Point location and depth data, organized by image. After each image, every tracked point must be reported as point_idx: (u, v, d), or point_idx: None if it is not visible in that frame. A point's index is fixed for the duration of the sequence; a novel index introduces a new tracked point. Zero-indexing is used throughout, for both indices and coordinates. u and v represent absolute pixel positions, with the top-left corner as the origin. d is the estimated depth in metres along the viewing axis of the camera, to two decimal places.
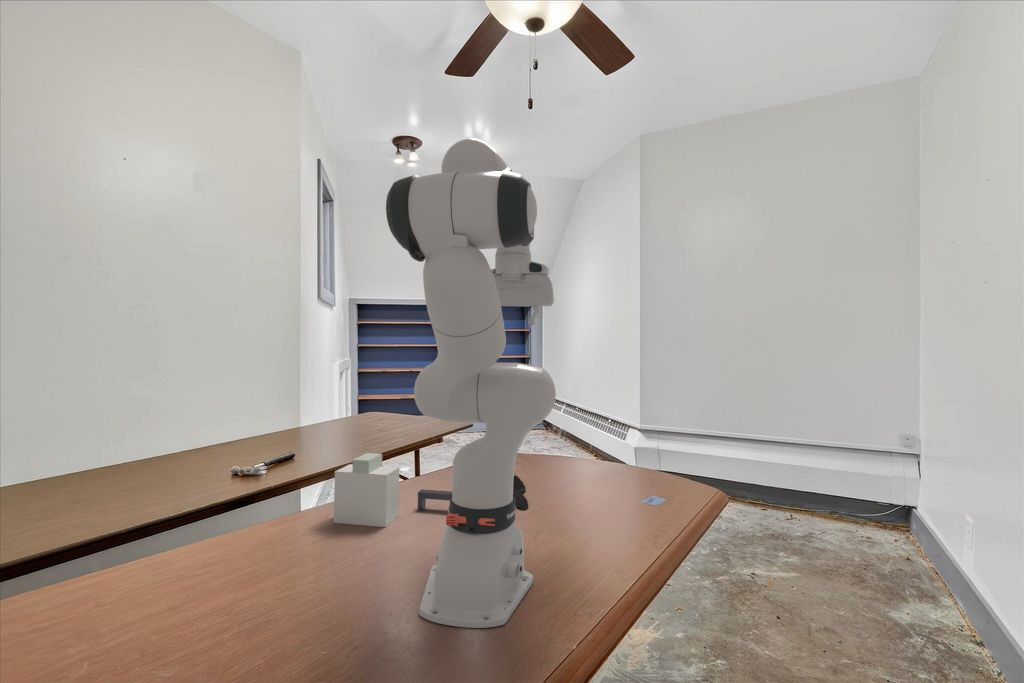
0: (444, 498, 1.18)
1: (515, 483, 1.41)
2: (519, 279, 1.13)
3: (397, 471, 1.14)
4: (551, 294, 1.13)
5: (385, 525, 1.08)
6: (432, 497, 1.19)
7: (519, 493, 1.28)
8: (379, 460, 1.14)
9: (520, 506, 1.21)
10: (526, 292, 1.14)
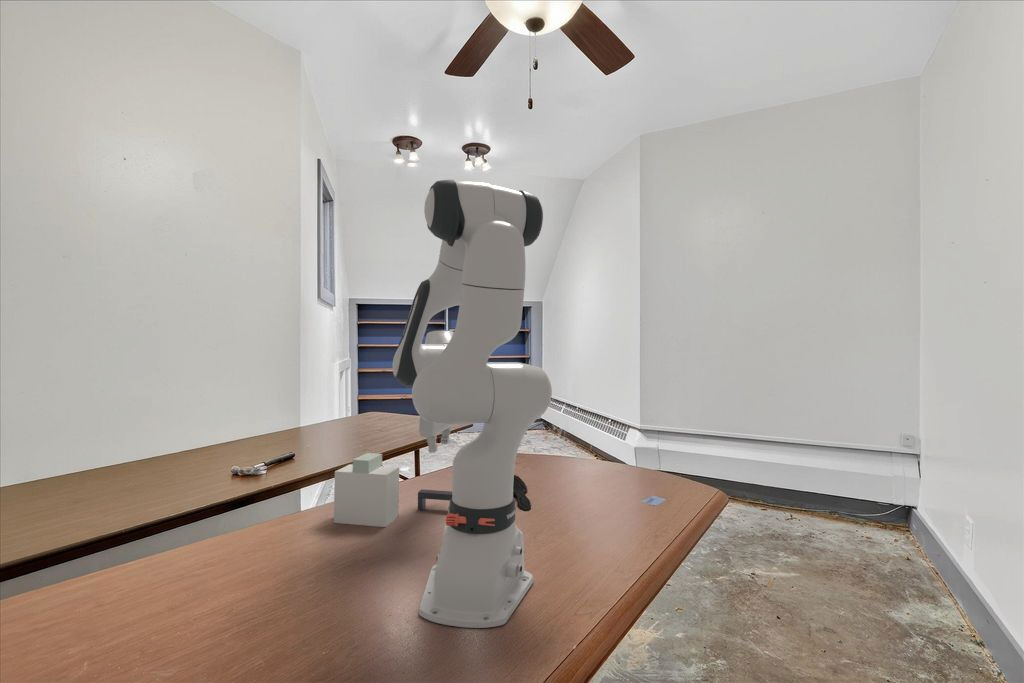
0: (444, 498, 1.18)
1: (516, 483, 1.40)
2: None
3: (397, 471, 1.14)
4: None
5: (385, 525, 1.08)
6: (432, 497, 1.19)
7: (521, 493, 1.28)
8: (379, 460, 1.14)
9: (523, 507, 1.21)
10: None
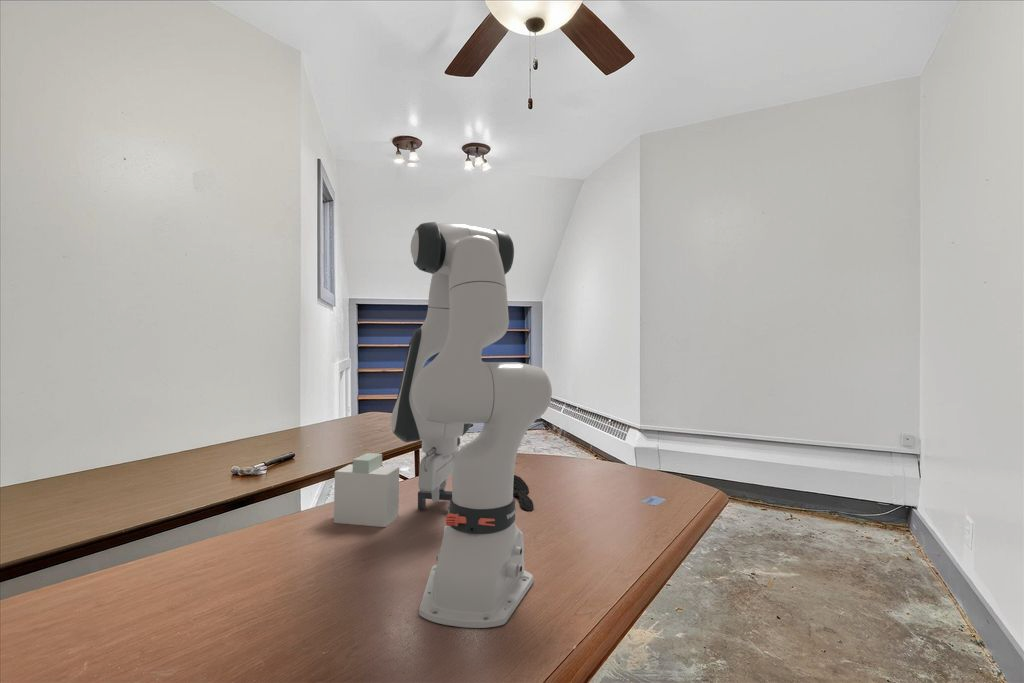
0: (444, 498, 1.18)
1: (518, 484, 1.40)
2: None
3: (397, 471, 1.14)
4: None
5: (385, 525, 1.08)
6: None
7: (523, 494, 1.27)
8: (379, 460, 1.14)
9: (525, 507, 1.21)
10: (450, 465, 1.23)
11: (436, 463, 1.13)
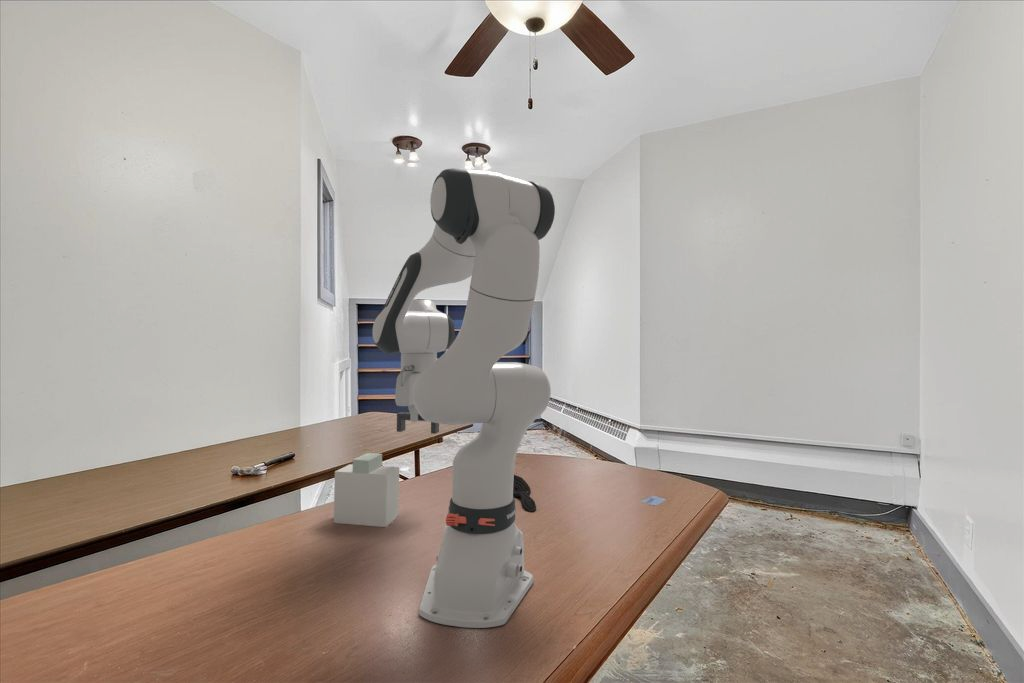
0: (423, 419, 1.16)
1: (519, 484, 1.39)
2: None
3: (397, 471, 1.14)
4: None
5: (385, 525, 1.08)
6: None
7: (526, 495, 1.27)
8: (379, 460, 1.14)
9: (528, 508, 1.20)
10: None
11: (414, 379, 1.11)
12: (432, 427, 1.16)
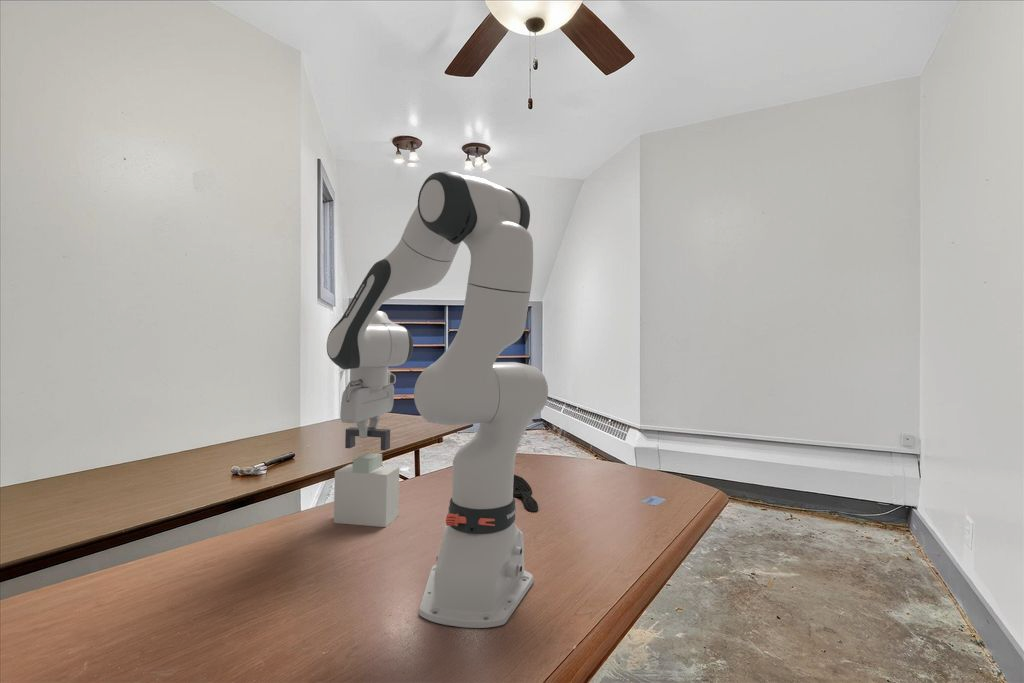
0: (373, 435, 1.11)
1: (521, 485, 1.39)
2: None
3: (397, 471, 1.14)
4: None
5: (385, 525, 1.08)
6: None
7: (527, 495, 1.27)
8: (379, 460, 1.14)
9: (530, 508, 1.20)
10: (382, 402, 1.16)
11: (361, 395, 1.06)
12: (382, 444, 1.11)
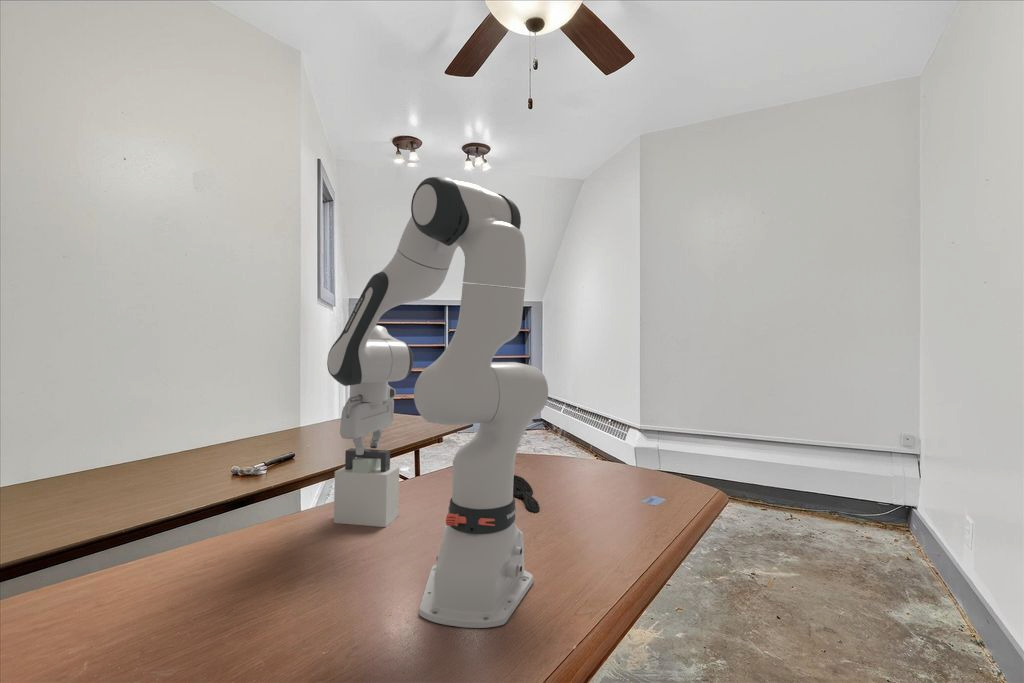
0: (373, 456, 1.11)
1: (521, 485, 1.39)
2: None
3: (397, 471, 1.14)
4: None
5: (385, 525, 1.08)
6: (360, 455, 1.12)
7: (528, 495, 1.26)
8: (379, 460, 1.14)
9: (531, 509, 1.20)
10: (382, 417, 1.16)
11: (361, 410, 1.06)
12: (382, 465, 1.11)
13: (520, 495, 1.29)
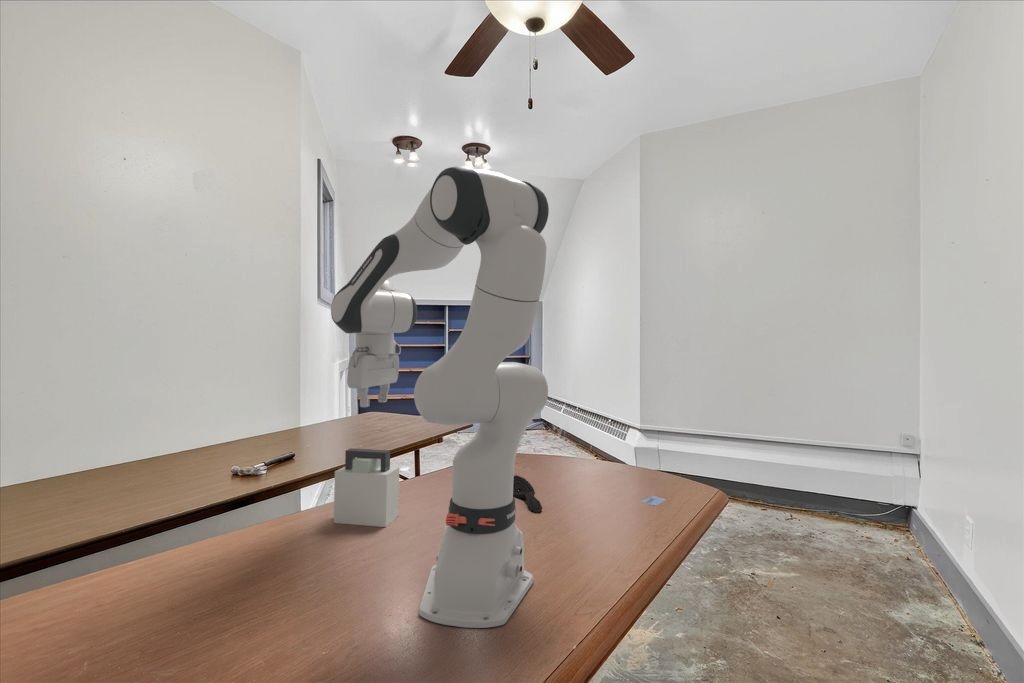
0: (373, 456, 1.11)
1: (523, 485, 1.39)
2: None
3: (397, 471, 1.14)
4: (398, 372, 1.23)
5: (385, 525, 1.08)
6: (360, 455, 1.12)
7: (531, 495, 1.26)
8: (379, 460, 1.14)
9: (534, 509, 1.19)
10: (387, 372, 1.17)
11: (368, 361, 1.06)
12: (382, 465, 1.11)
13: (522, 495, 1.29)
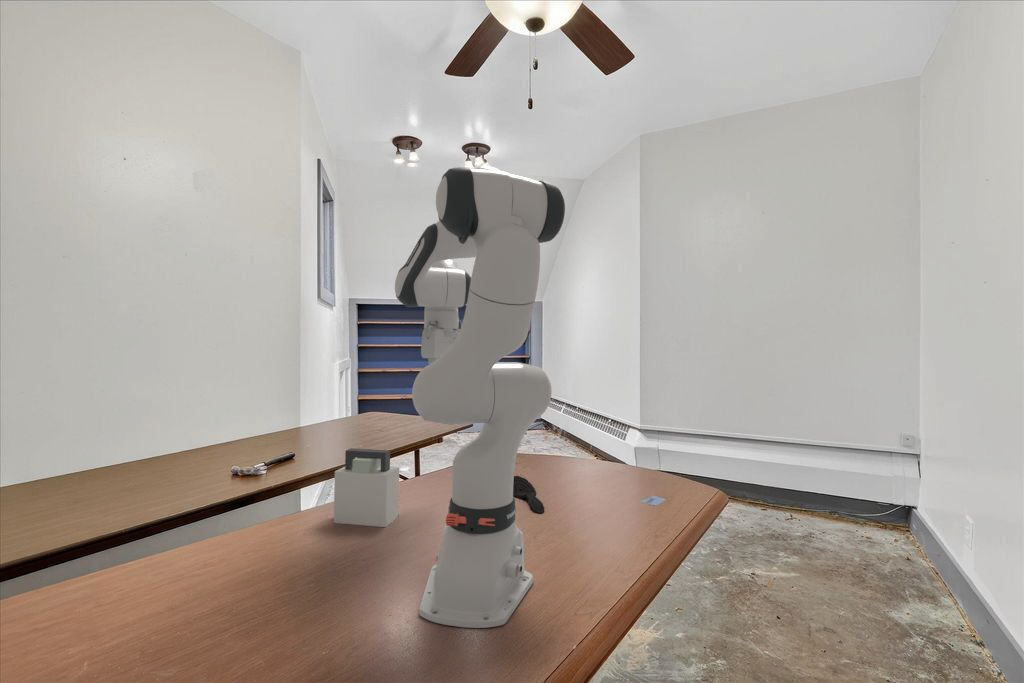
0: (373, 456, 1.11)
1: (524, 486, 1.38)
2: None
3: (397, 471, 1.14)
4: None
5: (385, 525, 1.08)
6: (360, 455, 1.12)
7: (533, 496, 1.26)
8: (379, 460, 1.14)
9: (536, 509, 1.19)
10: (451, 345, 1.27)
11: (438, 334, 1.16)
12: (382, 465, 1.11)
13: (524, 496, 1.28)
